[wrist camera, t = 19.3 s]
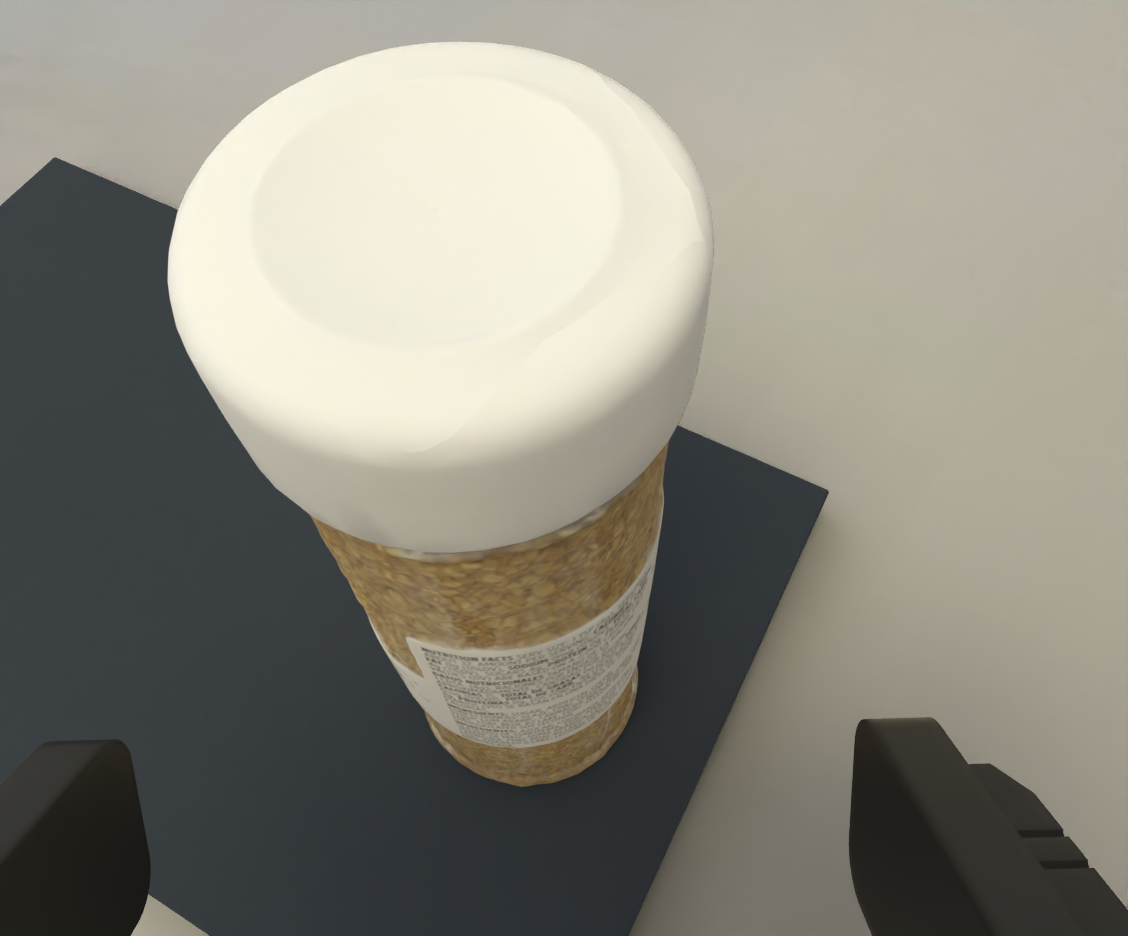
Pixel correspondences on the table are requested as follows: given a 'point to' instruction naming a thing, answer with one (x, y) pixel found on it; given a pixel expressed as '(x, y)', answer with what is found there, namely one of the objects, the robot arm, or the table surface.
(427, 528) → the sprinkles bottle
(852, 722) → the table surface
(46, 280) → the mat
